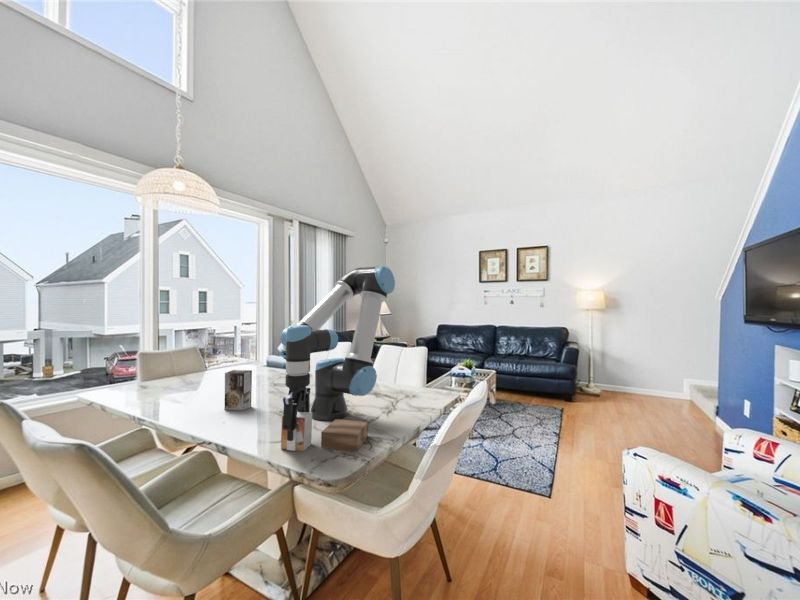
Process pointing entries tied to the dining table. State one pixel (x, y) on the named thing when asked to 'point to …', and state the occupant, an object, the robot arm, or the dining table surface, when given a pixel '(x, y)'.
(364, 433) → the walnut block
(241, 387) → the coffee box
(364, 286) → the robot arm
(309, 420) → the small box
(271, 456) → the dining table surface
